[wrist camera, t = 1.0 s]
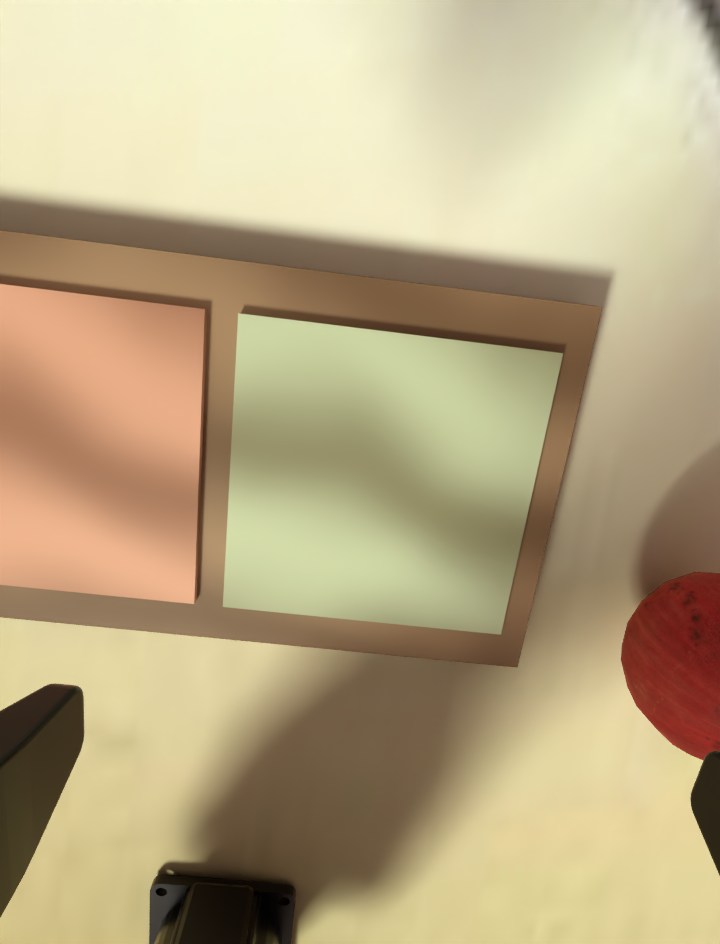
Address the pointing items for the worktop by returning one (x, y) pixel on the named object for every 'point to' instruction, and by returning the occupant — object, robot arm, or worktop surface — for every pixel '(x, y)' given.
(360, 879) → the worktop surface
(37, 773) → the robot arm
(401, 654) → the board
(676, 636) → the onion
